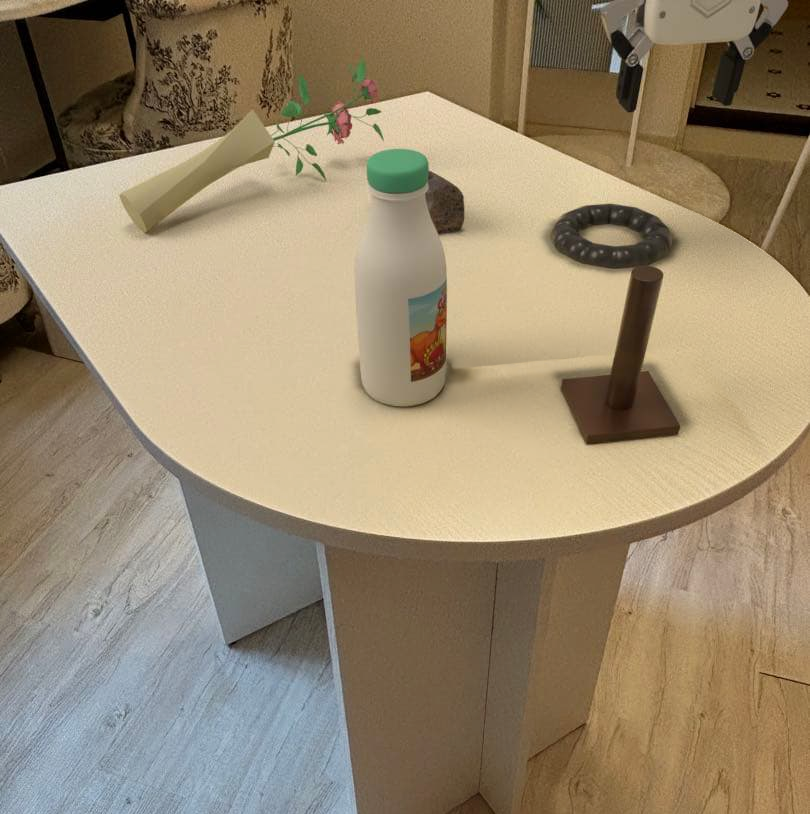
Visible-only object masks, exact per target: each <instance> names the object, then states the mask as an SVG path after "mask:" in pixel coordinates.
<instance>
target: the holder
mask: <svg viewBox="0 0 810 814" xmlns="http://www.w3.org/2000/svg"><path fill="white" fill-rule="evenodd" d="M630 271H631V272H630V275H629V281H628V284H627V285H628V286H627V291H626V295H625V301H624V305H623V311H622V316H621V320H620V325H619V331H618V335H617V339H616V345H615V350H614V356H613V359H612V366H611V369H610V370H611V371H610V374H601V375H594V376H593V375H591V376H590V375H589V376H582V377H570V378H562V379H561V380H562V381H561V386H560V389H561V391H562V394H563V395H564V398H565V401H566V402H567V404H568V407H569V409H570V411H571V413H572V416H573V418H574V420H575V422H576V424H577V427H578V429H579V431H580V434H581V436H582V438H583V440H584V442H585V444H586V445H594V444H603V443H609V442H610V443H611V442H621V441H631V440H641V439H651V438H660V437H669V436H678V435H679V434H680V430H681V424H680V422H679V420H678V419H677V417H676V415H675V413H674V412H673V410H672V409H671V407H670V405H669V403H668V402H667V400H666V398H665V397H664V395H663V393H662V391H661V390H660V388H659V387H658V385H657V383H656V381H655V379H654V378H653V376H652V375H651V373H650V372H649V370H643V364H644V361H645V357H646V352H647V348H648V344H649V340H650V335H651V331H652V327H653V323H654V318H655V314H656V309H657V306H658V302H659V297H660V294H661V293H660V292H661V289H662V284H663V281H664V280H663V279H664V276H665V275H664V272H663V270H661V269H660V268H658V267H656V266H652V265H647V266H638V267H633V268H632V270H630Z"/></svg>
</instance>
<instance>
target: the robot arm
mask: <svg viewBox="0 0 810 814" xmlns="http://www.w3.org/2000/svg"><path fill="white" fill-rule="evenodd" d="M761 5H762V6H763V10H762V12H761V14H760V16H759V18H758V15H759V10H760V7H761ZM788 7H789V1H788V0H612V1H610V2H609V3H608V4H606V5H604V6H603V7H602V8H601V9H600V13H599V14H600V19H601V21H602V25H603V28H604V31H605V33H606V40H607V42H608V43H609V44H610V45H611V47H612V48H613V49H614V51H615V52H616V54H617V56H618V57H619V58H620V59H621V60H620V66H619V71H618V77H617V83H616V90H615V97H616V99H617V100H618V104H619V105H620V106H621V107H622V109H624V110H625V111H626V113H634V112H635V111H636V110H637V107H638V101H639V96H640V89H641V85H642V80H643V75H644V74H643V73H644V67H643V66H642V65H641V60H642V59H643V58H644V57H645V56H646V55H647V53H648V52H649V51H651V49H652V48H653V47H654V45H661V46H675V45H676V46H680V45H694V44H713V43H714V44H715V43H726V44H727V46H728V48H727V50H723V53H722V54H721V55H720V59H719V63H718V68H717V72H716V76H715V79H714V84H713V88H712V92H711V97H713V98H714V99H715V100H717V101H718V102H719V103H720V104H721V105H722V106H723V107H729V106H731V105H732V103H733V100H734V96H735V93H737V92H738V90H739V87H740V83H741V81H742V77H743V72H744V69H745V64H746V61H747V60H749V59H751V58H752V57H753V55H754V53H755V50H756V49H758V47H759V46H760V45H761V44H762V43H763V42H765V40H766V39H768V38H769V36H770V35H771V34H772V30H773V28H774V26H776V24H777V23H778V22H779V20H780V19H781V18H782V16H783V15H784V13H785V12H786V11H787V8H788ZM633 11H634V27H635V28H634V29H633V30H632V31H631V32H630V33H629V34H628V36H626V35H625V34H624V31H623V26H622V20H623V18H624V17H626V16H627V15H628V14H630V13H632V12H633ZM757 18H758V19H757Z"/></svg>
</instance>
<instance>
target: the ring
mask: <svg viewBox="0 0 810 814" xmlns="http://www.w3.org/2000/svg"><path fill="white" fill-rule="evenodd" d="M605 225H611V226H617V227H625V228H627V229H629V230H632V231H634V232H636V233H638V235H639V236H640V237H641V239H642V241H640V242H637V243H635V244H626V245H615V246H614V245H608V244H604V243H603V244H602V243H596V242H593V241H591V240H588V239H587V238H584V237H583V236H580V235H581V232H582V231H583V230H586V229H588V228H590V227H593V226H605ZM549 239H550V240H551V242H552V244H553V247H554V248H555V249H556V251H557V252H558V253H559V254H561V255H563V256H566V257H567V258H569V259H572V260H573V261H575V262H577V263H579V264H582V265H587V266H592V267H599V268H604V269H612V270H619V269H630V268H632V269H633V268H635V267H638V266H650V265H652V264H653V263H656V262H657V261H660V260H662V259H664V258H666V257H667V256H668V255H669V252H670V250H671V247H672V244H673V239H674V237H673V233H672V232H671V230H670V229H669V228H668V226H667V224H665V222H664V221H663V220H662V219H661V217H659V216H657V215H655V214H653V213H651V212H648V211H646V210H644V209H641V208H639V207H636V206H631V205H630V206H629V205H623V204H617V203H599V204H586V205H582V206H579V207H577V208H575V209H572V210H570V211H567V212H565V213H563V214H562V215H560V217H558V219H557V221H556V222H555V224H554V225H553V227H552V229H551V231H550V234H549Z"/></svg>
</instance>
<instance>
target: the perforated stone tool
mask: <svg viewBox="0 0 810 814" xmlns="http://www.w3.org/2000/svg"><path fill="white" fill-rule="evenodd" d="M428 186H429V188H428V190H427V192H426V193H425V198H426V204H427V207H428V211H429V214H430V217H431V220H432V222H433V224H434V226H435V229H436V231H437V233H438V235H443V234H450V233H454V232H458V231H460V230H461V229H462V227H463V226H464V223H465V201H464V200H465V196H464V194H463V192H462V190H460V188H459V187H458V186H457V185H455V184H454V183H452V182H451V181H449V180H448V179H446V178H445V177H443V176H441V175H439V174H437V173H435V172H433V171H431V170H429V176H428Z"/></svg>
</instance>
